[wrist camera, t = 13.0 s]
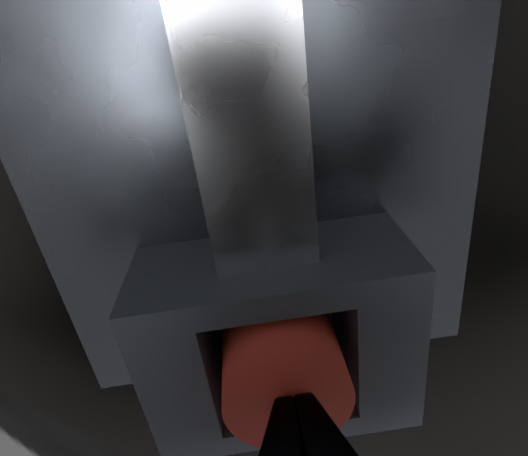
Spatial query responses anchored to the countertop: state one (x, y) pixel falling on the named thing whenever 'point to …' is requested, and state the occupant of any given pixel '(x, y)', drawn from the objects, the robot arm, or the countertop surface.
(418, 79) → the rail base
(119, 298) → the windowed grey end block
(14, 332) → the countertop surface
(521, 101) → the countertop surface
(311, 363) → the button
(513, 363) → the countertop surface
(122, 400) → the countertop surface
